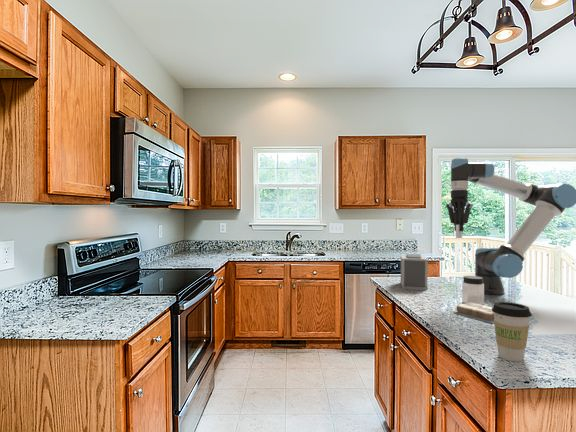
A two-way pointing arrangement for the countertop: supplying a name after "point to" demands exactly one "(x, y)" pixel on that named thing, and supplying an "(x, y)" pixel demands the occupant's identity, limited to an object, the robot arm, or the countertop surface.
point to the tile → (476, 310)
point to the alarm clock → (414, 272)
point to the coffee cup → (511, 329)
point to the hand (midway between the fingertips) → (458, 237)
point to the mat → (475, 317)
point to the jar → (473, 290)
